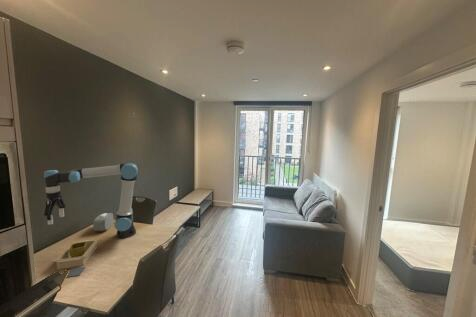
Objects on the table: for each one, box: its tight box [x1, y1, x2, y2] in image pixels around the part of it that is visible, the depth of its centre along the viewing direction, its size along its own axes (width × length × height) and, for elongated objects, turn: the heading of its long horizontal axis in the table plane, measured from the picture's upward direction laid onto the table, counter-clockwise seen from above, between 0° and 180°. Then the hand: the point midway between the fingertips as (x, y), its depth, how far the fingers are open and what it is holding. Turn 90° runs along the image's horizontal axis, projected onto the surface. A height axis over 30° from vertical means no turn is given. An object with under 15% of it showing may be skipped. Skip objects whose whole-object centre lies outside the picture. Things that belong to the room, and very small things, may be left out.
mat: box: [65, 266, 86, 279], centre depth 127 cm, size 9×8×1 cm
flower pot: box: [69, 241, 87, 258], centre depth 143 cm, size 9×9×9 cm
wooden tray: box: [52, 238, 100, 270], centre depth 143 cm, size 19×28×6 cm
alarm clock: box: [92, 212, 114, 232], centre depth 189 cm, size 21×10×13 cm, turn 14°
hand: (56, 220), depth 146 cm, fingers open, 13 cm apart
